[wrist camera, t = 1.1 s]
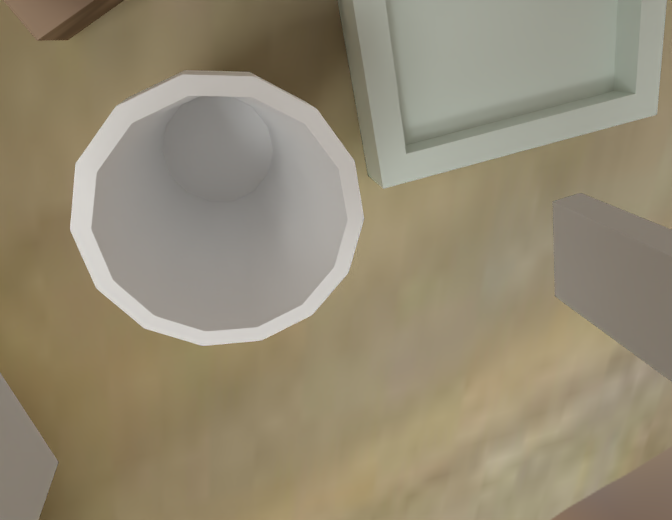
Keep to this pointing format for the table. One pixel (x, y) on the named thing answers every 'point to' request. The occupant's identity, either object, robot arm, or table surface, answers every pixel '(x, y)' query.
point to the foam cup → (216, 208)
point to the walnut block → (59, 16)
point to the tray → (494, 76)
